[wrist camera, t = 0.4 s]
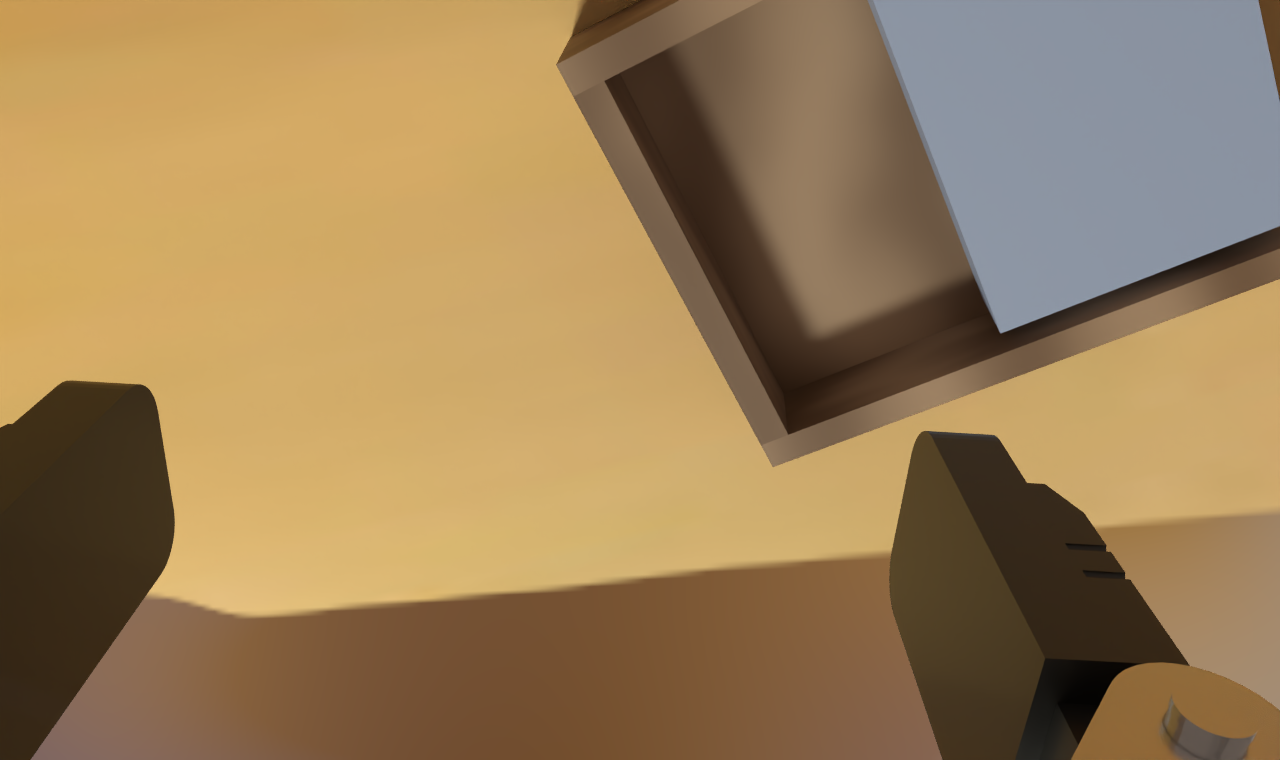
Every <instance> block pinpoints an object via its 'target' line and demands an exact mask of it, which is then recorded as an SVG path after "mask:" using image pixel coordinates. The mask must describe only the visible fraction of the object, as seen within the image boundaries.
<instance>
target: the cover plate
mask: <svg viewBox="0 0 1280 760" xmlns="http://www.w3.org/2000/svg"><path fill="white" fill-rule="evenodd" d="M868 3H869V5H870V8H871V10H872V13H873V16H874V18H875V21H876V23H877V26H878V29H879V31H880V34H881V36H882V39H883V41H884V44H885V47H886V49H887V52H888V54H889V57H890V60H891V62H892V65H893V67H894V70H895V73H896V75H897V78H898V80H899V83H900V86H901V88H902V91H903V93H904V96H905V99H906V101H907V104H908V106H909V109H910V112H911V114H912V117H913V119H914V122H915V125H916V127H917V130H918V132H919V135H920V138H921V140H922V143H923V145H924V148H925V151H926V153H927V156H928V158H929V161H930V164H931V166H932V169H933V171H934V174H935V177H936V179H937V182H938V184H939V187H940V189H941V192H942V195H943V197H944V200H945V202H946V205H947V208H948V210H949V213H950V215H951V218H952V221H953V223H954V226H955V228H956V231H957V234H958V236H959V239H960V241H961V244H962V247H963V249H964V252H965V254H966V257H967V260H968V262H969V265H970V267H971V270H972V273H973V275H974V278H975V280H976V283H977V286H978V288H979V291H980V293H981V296H982V299H983V301H984V303H985V304H986V306H987V308H988V310H989V312H990V314H991V316H992V318H993V320H994V322H995V324H996V326H997V328H998V330H999V332H1000V333H1003V332H1006V331H1009V330H1011V329H1014V328H1016V327H1019V326H1022V325H1024V324H1027V323H1029V322H1032V321H1035V320H1037V319H1040V318H1042V317H1045V316H1048V315H1050V314H1053V313H1055V312H1058V311H1061V310H1063V309H1066V308H1068V307H1071V306H1074V305H1076V304H1079V303H1081V302H1084V301H1087V300H1089V299H1092V298H1094V297H1097V296H1100V295H1102V294H1105V293H1107V292H1110V291H1113V290H1115V289H1118V288H1120V287H1123V286H1126V285H1128V284H1131V283H1133V282H1136V281H1139V280H1141V279H1144V278H1146V277H1149V276H1152V275H1154V274H1157V273H1159V272H1162V271H1165V270H1167V269H1170V268H1172V267H1175V266H1177V265H1180V264H1183V263H1185V262H1188V261H1190V260H1193V259H1196V258H1198V257H1201V256H1203V255H1206V254H1209V253H1211V252H1214V251H1216V250H1219V249H1222V248H1224V247H1227V246H1229V245H1232V244H1235V243H1237V242H1240V241H1242V240H1245V239H1248V238H1250V237H1253V236H1255V235H1258V234H1261V233H1263V232H1266V231H1268V230H1271V229H1274V228H1276V227H1279V226H1280V100H1279V95H1278V91H1277V86H1276V81H1275V77H1274V72H1273V67H1272V62H1271V58H1270V53H1269V48H1268V44H1267V39H1266V34H1265V29H1264V25H1263V20H1262V15H1261V10H1260V6H1259V1H1258V0H868Z"/></svg>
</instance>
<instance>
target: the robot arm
mask: <svg viewBox="0 0 1280 760" xmlns="http://www.w3.org/2000/svg"><path fill="white" fill-rule="evenodd" d="M174 526H175V519H174V508H173V502H172V496H171V490H170V484H169V477H168V471H167V465H166V459H165V453H164V446H163V440H162V434H161V428H160V422H159V415H158V410H157V405H156V402H155V399H154V397H153V395H152V393H151V391H150V390H149V389H148V388H147V387H146V386H144V385H139V384H122V383H104V382H87V381H65V382H62V383H61V384H59V385H58V386H57V387H56V388H54V389H53V390H52V391H51V392H50V393H49V394H47V395H46V396H45V397H44V398H43V399H42V400H40V401H39V402H38V403H37V404H36V405H34V406H33V407H32V408H31V409H30V410H29V411H27V412H26V413H25V414H24V415H23V416H22V417H20V418H19V419H18V420H17V421H16V422H15V423H13V424H7V425H5V426H3V427H1V428H0V760H30V759H31V758H32V757H33V755H34V754H35V753H36V751H37V750H38V748H39V747H40V745H41V744H42V743H43V741H44V740H45V738H46V737H47V736H48V734H49V733H50V731H51V729H52V728H53V727H54V725H55V724H56V723H57V721H58V720H59V718H60V717H61V716H62V714H63V713H64V711H65V710H66V708H67V707H68V706H69V704H70V703H71V701H72V700H73V699H74V697H75V696H76V694H77V693H78V691H79V690H80V689H81V687H82V686H83V684H84V683H85V681H86V680H87V679H88V677H89V676H90V674H91V673H92V672H93V670H94V669H95V667H96V666H97V664H98V663H99V662H100V660H101V659H102V657H103V656H104V654H105V653H106V652H107V650H108V649H109V647H110V646H111V645H112V643H113V642H114V640H115V639H116V637H117V636H118V635H119V633H120V632H121V630H122V629H123V627H124V626H125V625H126V623H127V622H128V620H129V619H130V617H131V616H132V615H133V613H134V612H135V610H136V609H137V608H138V606H139V605H140V603H141V602H142V600H143V599H144V598H145V596H146V595H147V593H148V592H149V590H150V589H151V588H152V586H153V585H154V583H155V582H156V581H157V579H158V578H159V576H160V575H161V573H162V572H163V570H164V568H165V566H166V564H167V561H168V558H169V556H170V552H171V548H172V544H173V538H174ZM889 581H890V582H889V583H890V598H891V605H892V610H893V614H894V617H895V620H896V623H897V626H898V629H899V632H900V635H901V638H902V641H903V643H904V647H905V649H906V652H907V656H908V658H909V661H910V664H911V667H912V670H913V673H914V676H915V679H916V682H917V685H918V688H919V691H920V694H921V697H922V700H923V703H924V706H925V709H926V711H927V715H928V718H929V721H930V724H931V727H932V730H933V733H934V735H935V739H936V742H937V744H938V747H939V750H940V753H941V756H942V759H943V760H1280V710H1278V709H1277V708H1276V707H1275V706H1274V705H1272V704H1271V703H1269V702H1268V701H1267V700H1265V699H1264V698H1263V697H1261V696H1260V695H1258V694H1256V693H1254V692H1253V691H1251V690H1250V689H1248V688H1246V687H1244V686H1243V685H1240V684H1238V683H1236V682H1234V681H1232V680H1230V679H1227V678H1225V677H1223V676H1220V675H1217V674H1215V673H1212V672H1210V671H1206V670H1202V669H1199V668H1195V667H1192V666H1190V665H1189V664H1188V662H1187V661H1186V660H1185V658H1184V657H1183V655H1182V654H1181V652H1180V651H1179V649H1178V648H1177V647H1176V645H1175V644H1174V642H1173V641H1172V639H1171V638H1170V636H1169V635H1168V634H1167V632H1166V631H1165V629H1164V628H1163V626H1162V625H1161V623H1160V622H1159V621H1158V619H1157V618H1156V616H1155V615H1154V614H1153V612H1152V610H1151V609H1150V608H1149V606H1148V605H1147V603H1146V602H1145V601H1144V599H1143V597H1142V596H1141V595H1140V593H1139V592H1138V590H1137V589H1136V587H1135V586H1134V585H1133V583H1132V582H1131V580H1128V579H1125V572H1124V570H1123V569H1122V567H1121V566H1120V564H1119V563H1118V561H1117V560H1116V559H1115V557H1114V556H1113V554H1112V553H1111V552H1106V544H1105V543H1104V541H1103V540H1102V538H1101V537H1100V535H1099V534H1098V533H1097V531H1096V530H1095V528H1094V527H1093V525H1092V524H1091V522H1090V521H1089V520H1088V518H1087V517H1086V515H1085V514H1084V513H1083V512H1082V511H1081V510H1079V509H1078V508H1077V507H1075V506H1074V505H1072V504H1071V503H1070V502H1068V501H1067V500H1066V499H1064V498H1063V497H1062V496H1060V495H1059V494H1058V493H1056V492H1055V491H1053V490H1052V489H1051V488H1049V487H1048V486H1047V485H1045V484H1034V483H1027V482H1026V481H1025V479H1024V478H1023V476H1022V475H1021V473H1020V471H1019V470H1018V468H1017V467H1016V465H1015V463H1014V462H1013V460H1012V459H1011V457H1010V456H1009V454H1008V452H1007V451H1006V449H1005V448H1004V446H1003V444H1002V443H1001V441H1000V440H999V439H998V438H997V437H996V436H995V435H984V434H967V433H949V432H932V431H923V432H921V433H920V434H919V436H918V437H917V439H916V441H915V444H914V447H913V451H912V455H911V459H910V464H909V469H908V474H907V479H906V484H905V489H904V494H903V499H902V504H901V509H900V514H899V519H898V524H897V529H896V533H895V538H894V543H893V548H892V554H891V561H890V576H889Z"/></svg>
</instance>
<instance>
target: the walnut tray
mask: <svg viewBox="0 0 1280 760" xmlns="http://www.w3.org/2000/svg"><path fill="white" fill-rule="evenodd" d="M556 65H557V67H558V69H559V71H560V73H561V75H562V77H563V78H564V80H565V82H566V84H567V86H568V88H569V90H570V91H571V93H572V95H573V97H574V99H575V101H576V103H577V104H578V106H579V108H580V110H581V112H582V114H583V116H584V117H585V119H586V121H587V123H588V125H589V127H590V128H591V130H592V132H593V134H594V136H595V138H596V140H597V141H598V143H599V145H600V147H601V149H602V151H603V153H604V154H605V156H606V158H607V160H608V162H609V164H610V166H611V167H612V169H613V171H614V173H615V175H616V177H617V179H618V180H619V182H620V184H621V186H622V188H623V190H624V192H625V193H626V195H627V197H628V199H629V201H630V203H631V205H632V206H633V208H634V210H635V212H636V214H637V216H638V218H639V219H640V221H641V223H642V225H643V227H644V229H645V231H646V232H647V234H648V236H649V238H650V240H651V242H652V244H653V245H654V247H655V249H656V251H657V253H658V255H659V257H660V258H661V260H662V262H663V264H664V266H665V268H666V270H667V271H668V273H669V275H670V277H671V279H672V281H673V283H674V284H675V286H676V288H677V290H678V292H679V294H680V296H681V297H682V299H683V301H684V303H685V305H686V307H687V309H688V310H689V312H690V314H691V316H692V318H693V320H694V322H695V323H696V325H697V327H698V329H699V331H700V333H701V335H702V336H703V338H704V340H705V342H706V344H707V346H708V348H709V349H710V351H711V353H712V355H713V357H714V359H715V361H716V362H717V364H718V366H719V368H720V370H721V372H722V374H723V375H724V377H725V379H726V381H727V383H728V385H729V387H730V388H731V390H732V392H733V394H734V396H735V398H736V400H737V401H738V403H739V405H740V407H741V409H742V411H743V412H744V414H745V416H746V418H747V420H748V422H749V424H750V425H751V427H752V429H753V431H754V433H755V435H756V437H757V438H758V440H759V442H760V444H761V446H762V448H763V450H764V451H765V453H766V455H767V457H768V459H769V461H770V463H771V464H772V466H773V467H775V466H777V465H780V464H783V463H785V462H788V461H791V460H793V459H796V458H799V457H801V456H804V455H807V454H810V453H812V452H815V451H818V450H820V449H823V448H826V447H828V446H831V445H834V444H836V443H839V442H842V441H845V440H847V439H850V438H853V437H855V436H858V435H861V434H863V433H866V432H869V431H871V430H874V429H877V428H880V427H882V426H885V425H888V424H890V423H893V422H896V421H898V420H901V419H904V418H906V417H909V416H912V415H915V414H917V413H920V412H923V411H925V410H928V409H931V408H933V407H936V406H939V405H941V404H944V403H947V402H950V401H952V400H955V399H958V398H960V397H963V396H966V395H968V394H971V393H974V392H976V391H979V390H982V389H985V388H987V387H990V386H993V385H995V384H998V383H1001V382H1003V381H1006V380H1009V379H1011V378H1014V377H1017V376H1020V375H1022V374H1025V373H1028V372H1030V371H1033V370H1036V369H1038V368H1041V367H1044V366H1046V365H1049V364H1052V363H1055V362H1057V361H1060V360H1063V359H1065V358H1068V357H1071V356H1073V355H1076V354H1079V353H1081V352H1084V351H1087V350H1090V349H1092V348H1095V347H1098V346H1100V345H1103V344H1106V343H1108V342H1111V341H1114V340H1116V339H1119V338H1122V337H1125V336H1127V335H1130V334H1133V333H1135V332H1138V331H1141V330H1143V329H1146V328H1149V327H1151V326H1154V325H1157V324H1160V323H1162V322H1165V321H1168V320H1170V319H1173V318H1176V317H1178V316H1181V315H1184V314H1186V313H1189V312H1192V311H1194V310H1197V309H1200V308H1203V307H1205V306H1208V305H1211V304H1213V303H1216V302H1219V301H1221V300H1224V299H1227V298H1229V297H1232V296H1235V295H1238V294H1240V293H1243V292H1246V291H1248V290H1251V289H1254V288H1256V287H1259V286H1262V285H1264V284H1267V283H1270V282H1273V281H1275V280H1278V279H1280V226H1279V227H1276V228H1274V229H1271V230H1268V231H1266V232H1263V233H1261V234H1258V235H1255V236H1253V237H1250V238H1248V239H1245V240H1242V241H1240V242H1237V243H1235V244H1232V245H1229V246H1227V247H1224V248H1222V249H1219V250H1216V251H1214V252H1211V253H1209V254H1206V255H1203V256H1201V257H1198V258H1196V259H1193V260H1190V261H1188V262H1185V263H1183V264H1180V265H1177V266H1175V267H1172V268H1170V269H1167V270H1165V271H1162V272H1159V273H1157V274H1154V275H1152V276H1149V277H1146V278H1144V279H1141V280H1139V281H1136V282H1133V283H1131V284H1128V285H1126V286H1123V287H1120V288H1118V289H1115V290H1113V291H1110V292H1107V293H1105V294H1102V295H1100V296H1097V297H1094V298H1092V299H1089V300H1087V301H1084V302H1081V303H1079V304H1076V305H1074V306H1071V307H1068V308H1066V309H1063V310H1061V311H1058V312H1055V313H1053V314H1050V315H1048V316H1045V317H1042V318H1040V319H1037V320H1035V321H1032V322H1029V323H1027V324H1024V325H1022V326H1019V327H1016V328H1014V329H1011V330H1009V331H1006V332H1003V333H1000V332H999V330H998V328H997V326H996V324H995V322H994V320H993V318H992V316H991V314H990V312H989V310H988V308H987V306H986V304H985V303H984V301H983V299H982V296H981V293H980V291H979V288H978V286H977V283H976V280H975V278H974V275H973V273H972V270H971V267H970V265H969V262H968V260H967V257H966V254H965V252H964V249H963V247H962V244H961V241H960V239H959V236H958V234H957V231H956V228H955V226H954V223H953V221H952V218H951V215H950V213H949V210H948V208H947V205H946V202H945V200H944V197H943V195H942V192H941V189H940V187H939V184H938V182H937V179H936V177H935V174H934V171H933V169H932V166H931V164H930V161H929V158H928V156H927V153H926V151H925V148H924V145H923V143H922V140H921V138H920V135H919V132H918V130H917V127H916V125H915V122H914V119H913V117H912V114H911V112H910V109H909V106H908V104H907V101H906V99H905V96H904V93H903V91H902V88H901V86H900V83H899V80H898V78H897V75H896V73H895V70H894V67H893V65H892V62H891V60H890V57H889V54H888V52H887V49H886V47H885V44H884V41H883V39H882V36H881V34H880V31H879V29H878V26H877V23H876V21H875V18H874V16H873V13H872V10H871V8H870V5H869V3H868V0H640V1H638V2H637V3H635V4H633V5H631V6H629V7H627V8H625V9H623V10H621V11H620V12H618V13H616V14H614V15H612V16H610V17H608V18H606V19H604V20H602V21H601V22H599V23H597V24H595V25H593V26H591V27H589V28H587V29H585V30H584V31H582V32H580V33H578V34H576V35H574V36H572V37H571V38H570V40H569V41H568V43H567V45H566V47H565V49H564V51H563V53H562V55H561V57H560V58H559V60H558V62H557V64H556Z"/></svg>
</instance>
